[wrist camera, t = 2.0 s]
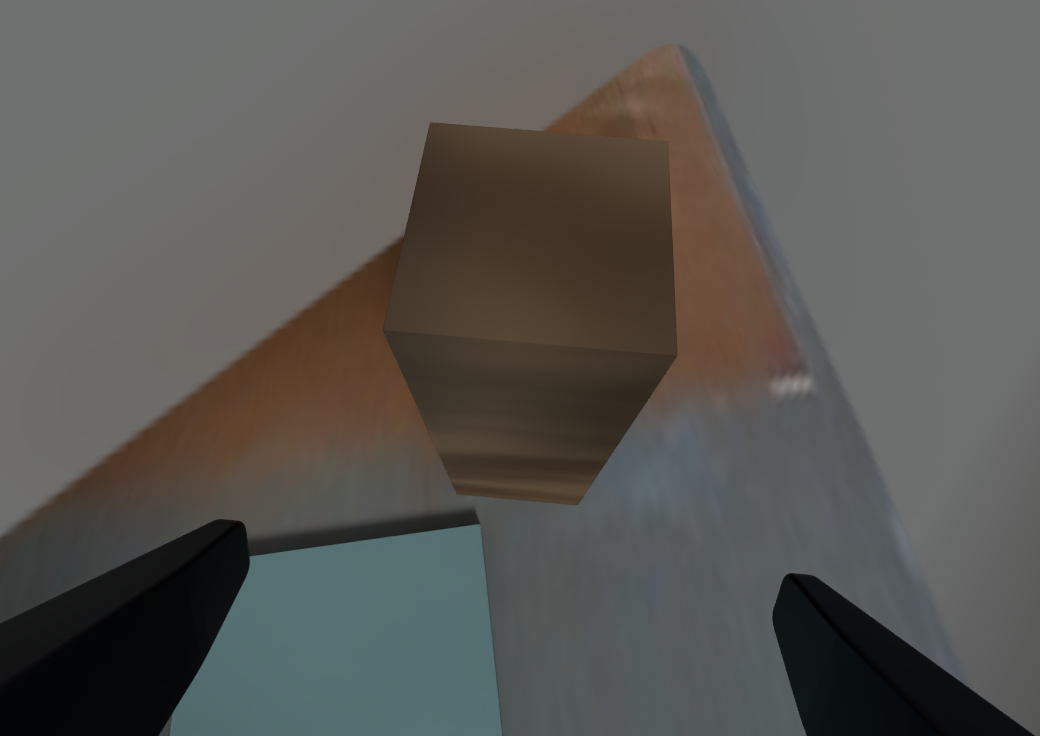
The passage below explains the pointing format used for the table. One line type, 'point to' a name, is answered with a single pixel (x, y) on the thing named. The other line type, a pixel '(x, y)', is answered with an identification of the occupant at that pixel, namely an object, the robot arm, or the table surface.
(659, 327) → the wooden block
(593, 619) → the table surface
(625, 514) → the table surface
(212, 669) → the teal tile
